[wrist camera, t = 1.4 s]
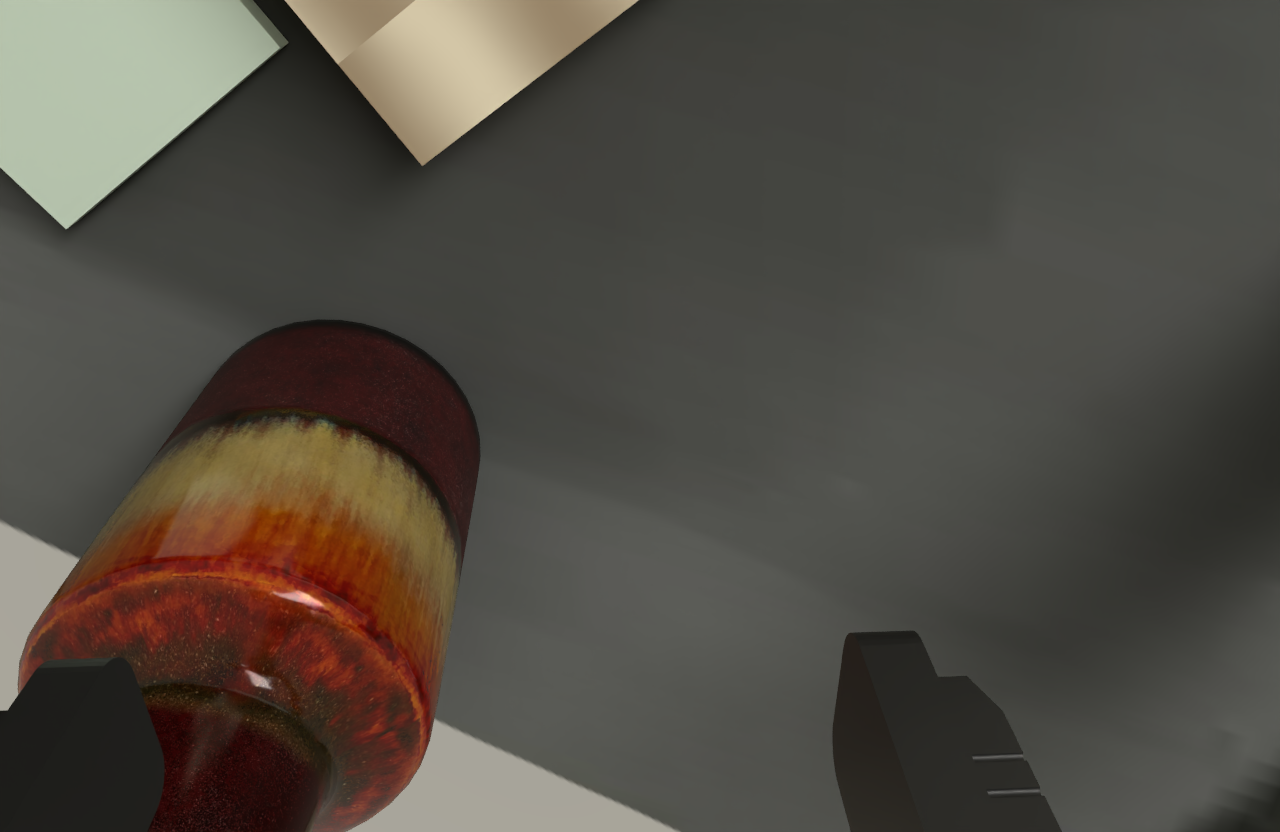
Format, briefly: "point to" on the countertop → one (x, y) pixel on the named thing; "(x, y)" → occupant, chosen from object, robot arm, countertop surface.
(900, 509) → the countertop surface
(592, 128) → the countertop surface
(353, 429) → the vase
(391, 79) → the block
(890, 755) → the robot arm
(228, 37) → the pad
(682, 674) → the countertop surface
